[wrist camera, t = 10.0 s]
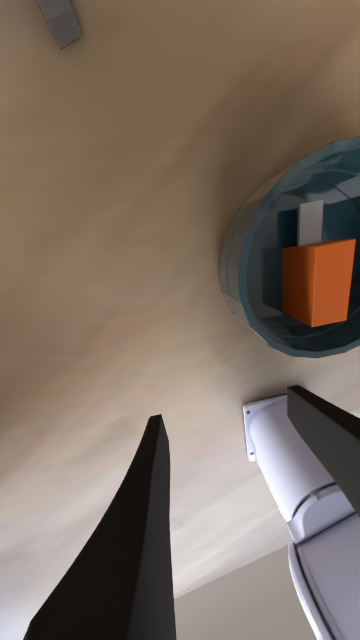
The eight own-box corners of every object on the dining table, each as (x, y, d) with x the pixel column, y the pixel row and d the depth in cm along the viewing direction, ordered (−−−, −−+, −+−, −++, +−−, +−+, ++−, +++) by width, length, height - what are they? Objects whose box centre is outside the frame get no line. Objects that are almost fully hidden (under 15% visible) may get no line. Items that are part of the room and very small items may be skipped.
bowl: (356, 318, 20) (414, 338, 16) (225, 345, 20) (245, 373, 15) (378, 156, 16) (471, 114, 11) (208, 189, 15) (228, 159, 11)
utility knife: (309, 307, 19) (346, 320, 15) (282, 312, 19) (312, 327, 15) (314, 203, 16) (362, 187, 12) (281, 209, 16) (319, 195, 12)
